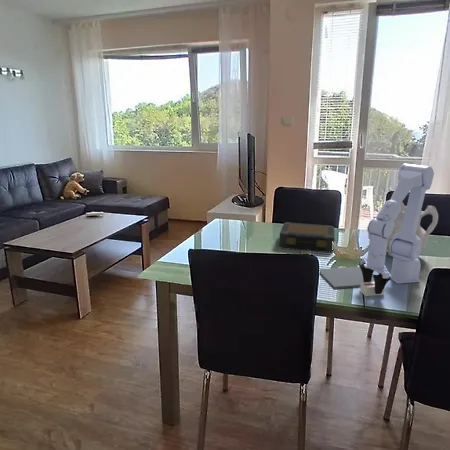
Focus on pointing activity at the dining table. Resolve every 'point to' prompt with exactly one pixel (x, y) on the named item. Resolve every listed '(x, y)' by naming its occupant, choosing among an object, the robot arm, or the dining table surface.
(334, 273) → the slate mat
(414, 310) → the dining table surface
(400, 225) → the ceramic pitcher
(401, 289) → the dining table surface
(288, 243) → the cash box
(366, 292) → the white rectangular block
